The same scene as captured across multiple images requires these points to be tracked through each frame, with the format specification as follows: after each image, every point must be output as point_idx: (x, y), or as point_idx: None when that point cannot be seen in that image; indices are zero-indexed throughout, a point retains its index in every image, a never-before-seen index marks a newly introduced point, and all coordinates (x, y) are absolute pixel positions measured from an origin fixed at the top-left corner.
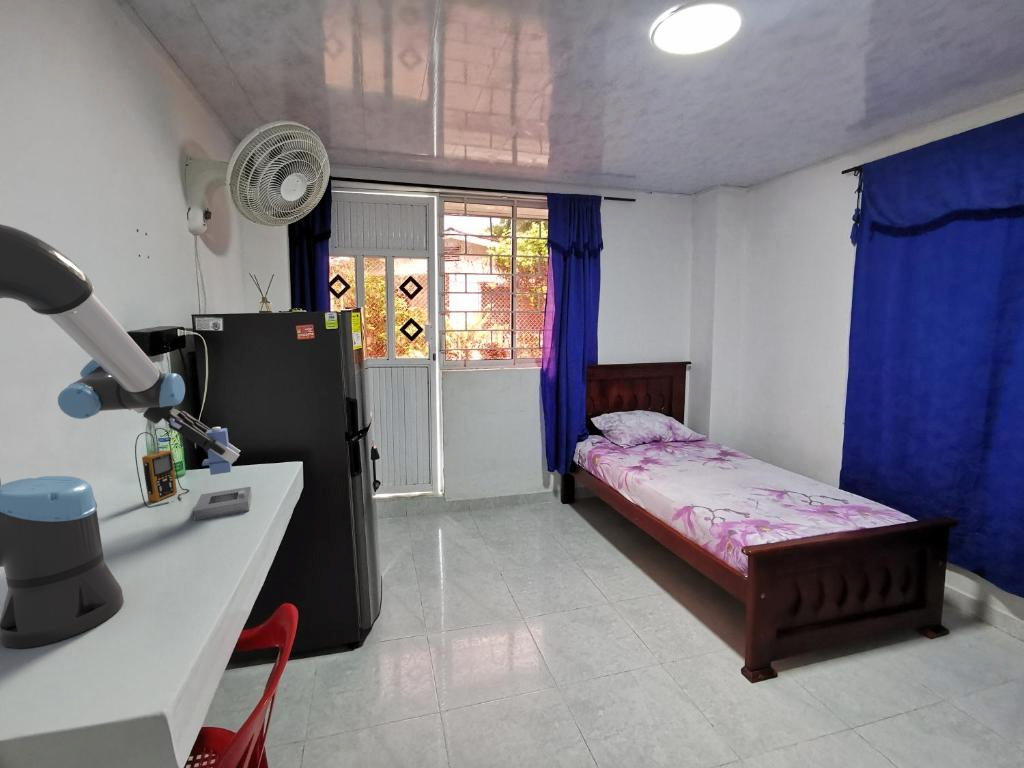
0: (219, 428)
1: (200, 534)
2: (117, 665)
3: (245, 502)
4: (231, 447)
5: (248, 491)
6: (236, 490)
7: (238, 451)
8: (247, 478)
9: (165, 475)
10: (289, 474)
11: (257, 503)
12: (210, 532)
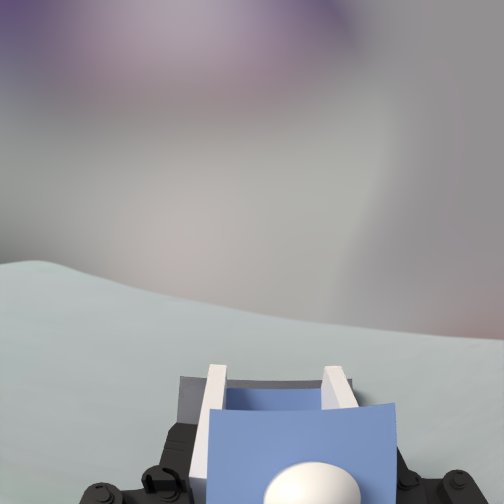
0: (339, 468)
1: (445, 460)
2: None
3: (351, 385)
4: (223, 405)
5: (238, 384)
6: (199, 418)
7: (226, 375)
8: (14, 367)
9: None
10: (59, 270)
11: (285, 366)
12: (444, 442)
